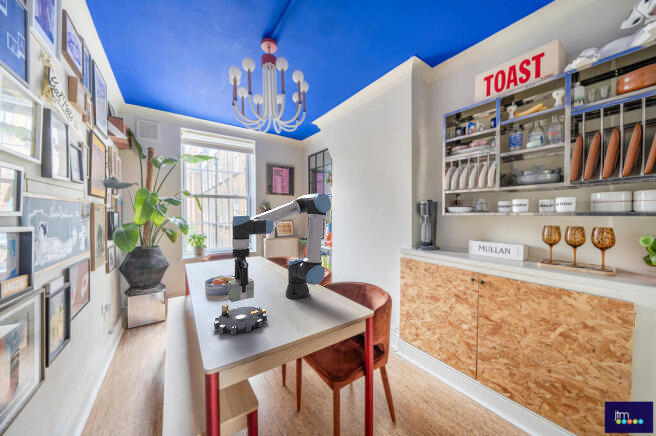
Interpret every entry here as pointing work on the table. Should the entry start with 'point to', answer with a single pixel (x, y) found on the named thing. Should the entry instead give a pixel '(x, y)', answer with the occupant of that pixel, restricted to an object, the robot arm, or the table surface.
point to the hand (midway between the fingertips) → (241, 297)
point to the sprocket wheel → (239, 319)
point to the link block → (235, 290)
